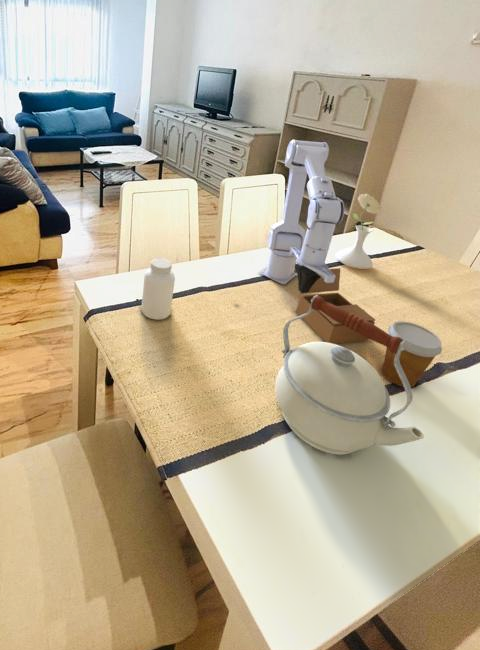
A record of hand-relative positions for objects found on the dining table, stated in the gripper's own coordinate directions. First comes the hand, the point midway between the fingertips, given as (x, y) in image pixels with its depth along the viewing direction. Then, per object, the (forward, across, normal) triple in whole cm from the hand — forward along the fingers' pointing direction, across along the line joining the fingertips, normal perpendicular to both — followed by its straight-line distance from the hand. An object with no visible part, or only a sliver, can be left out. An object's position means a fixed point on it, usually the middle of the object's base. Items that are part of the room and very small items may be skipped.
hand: (303, 291), depth 100 cm
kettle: (+10, +30, -14) cm, 34 cm away
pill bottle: (+10, -9, -36) cm, 39 cm away
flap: (0, -4, +9) cm, 9 cm away
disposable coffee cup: (+10, +21, +11) cm, 26 cm away
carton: (+9, +3, +8) cm, 13 cm away
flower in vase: (+10, -26, +41) cm, 50 cm away
